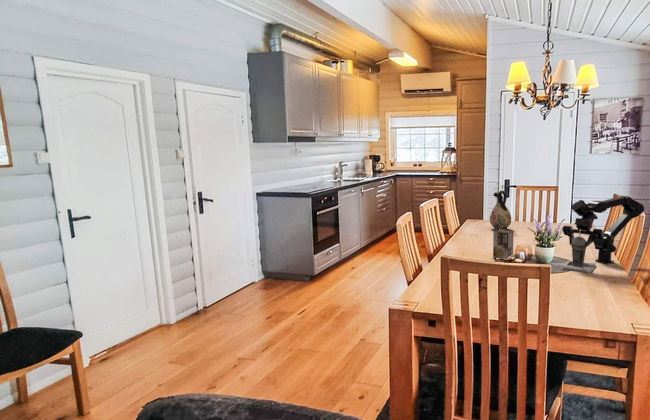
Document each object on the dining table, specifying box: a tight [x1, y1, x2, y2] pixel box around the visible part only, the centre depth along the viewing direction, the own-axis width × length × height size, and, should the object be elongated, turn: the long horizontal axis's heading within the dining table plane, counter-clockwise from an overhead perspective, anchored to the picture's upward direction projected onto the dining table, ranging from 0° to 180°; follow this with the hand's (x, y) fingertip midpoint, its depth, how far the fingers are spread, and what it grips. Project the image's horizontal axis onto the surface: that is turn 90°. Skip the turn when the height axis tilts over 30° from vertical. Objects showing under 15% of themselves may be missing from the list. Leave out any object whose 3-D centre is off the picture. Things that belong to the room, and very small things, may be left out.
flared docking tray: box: [562, 260, 597, 274], centre depth 232 cm, size 13×15×2 cm
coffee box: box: [492, 230, 514, 259], centre depth 254 cm, size 9×6×16 cm
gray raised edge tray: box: [562, 264, 597, 274], centre depth 232 cm, size 13×14×1 cm
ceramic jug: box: [489, 190, 512, 231], centre depth 336 cm, size 17×15×30 cm
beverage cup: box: [570, 229, 587, 267], centre depth 231 cm, size 7×7×20 cm
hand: (577, 245), depth 230 cm, fingers closed on beverage cup, 7 cm apart
